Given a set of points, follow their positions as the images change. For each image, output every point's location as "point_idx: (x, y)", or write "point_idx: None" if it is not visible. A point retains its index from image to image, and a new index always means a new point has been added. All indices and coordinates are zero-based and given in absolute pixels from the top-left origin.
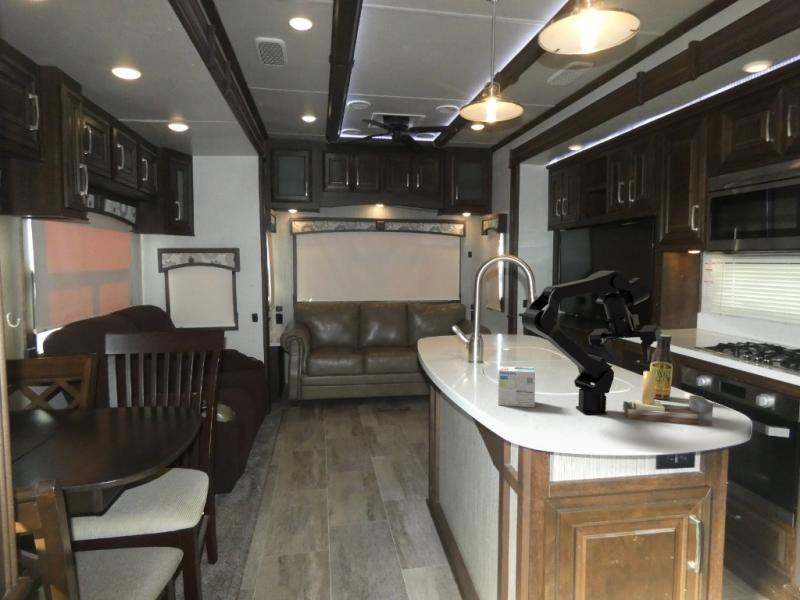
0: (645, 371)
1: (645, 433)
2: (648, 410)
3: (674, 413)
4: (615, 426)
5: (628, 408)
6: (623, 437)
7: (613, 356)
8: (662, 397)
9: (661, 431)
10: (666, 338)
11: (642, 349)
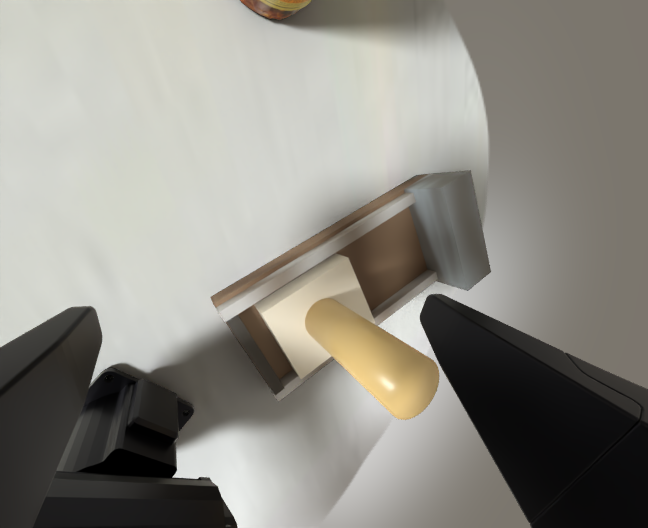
0: (397, 392)
1: (339, 446)
2: None
3: (390, 314)
4: (265, 474)
5: (275, 394)
6: (309, 515)
7: (60, 403)
8: (294, 13)
9: (363, 399)
10: None
11: (525, 511)
